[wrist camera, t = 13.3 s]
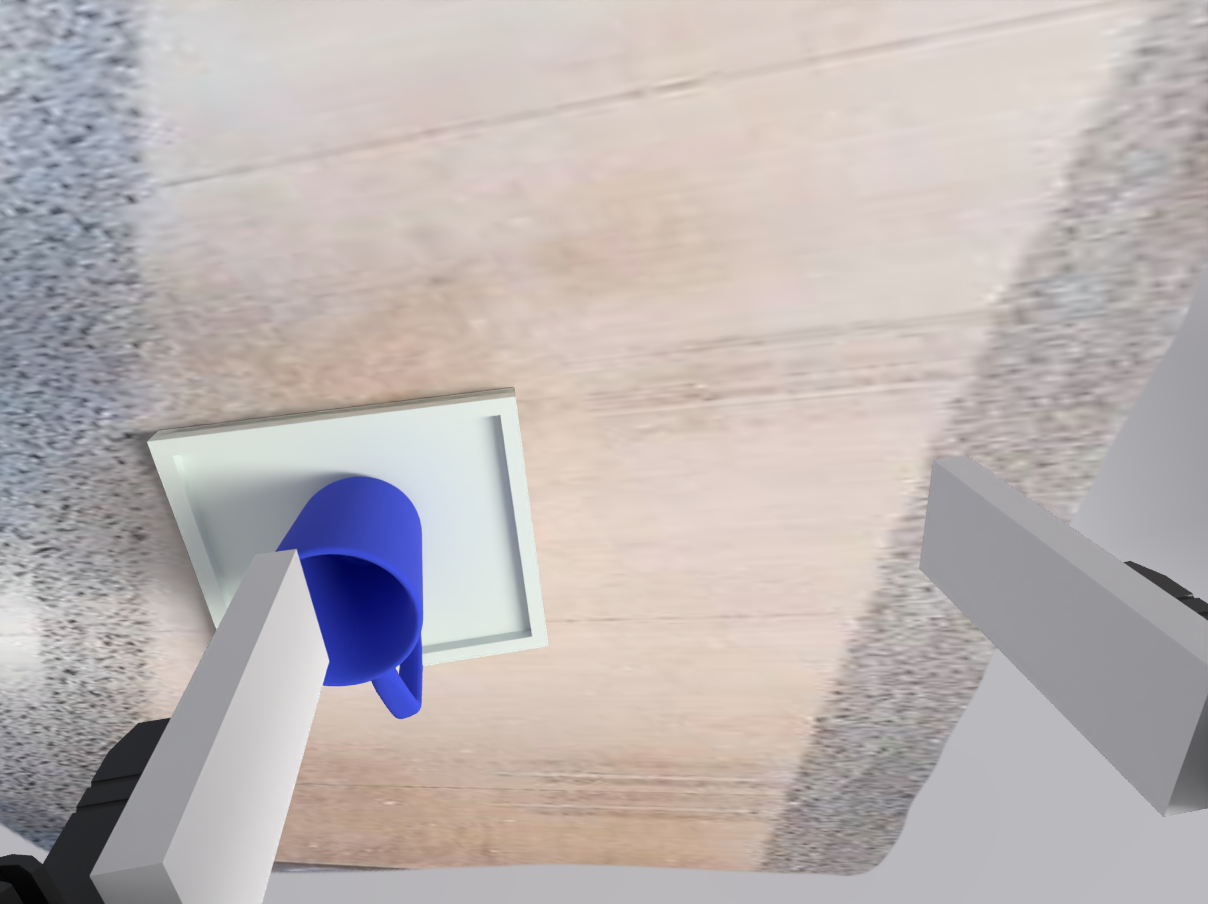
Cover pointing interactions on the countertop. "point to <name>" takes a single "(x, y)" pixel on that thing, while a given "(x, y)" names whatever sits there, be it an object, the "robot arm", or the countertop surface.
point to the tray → (395, 455)
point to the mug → (366, 586)
